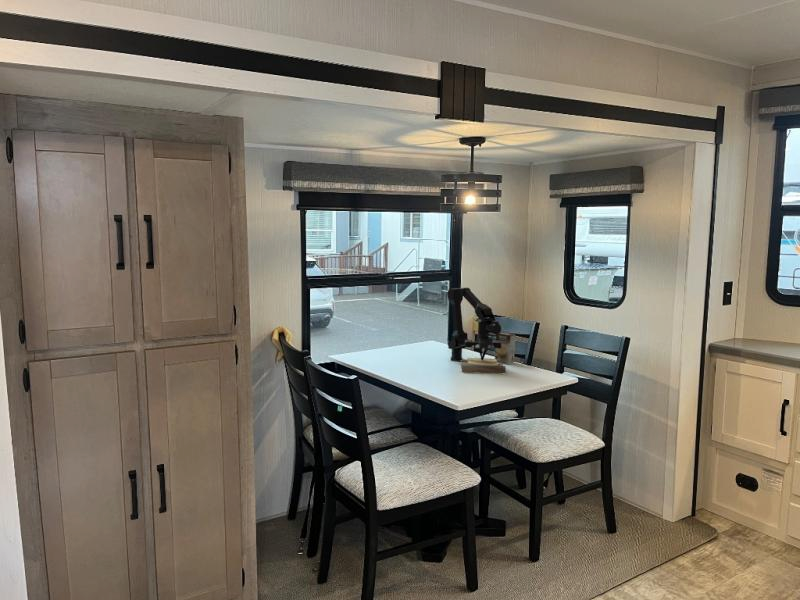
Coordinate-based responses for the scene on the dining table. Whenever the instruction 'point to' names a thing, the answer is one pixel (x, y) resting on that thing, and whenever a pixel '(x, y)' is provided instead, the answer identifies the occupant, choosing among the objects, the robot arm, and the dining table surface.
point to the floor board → (482, 368)
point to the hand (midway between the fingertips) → (482, 359)
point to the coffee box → (505, 348)
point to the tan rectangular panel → (482, 361)
